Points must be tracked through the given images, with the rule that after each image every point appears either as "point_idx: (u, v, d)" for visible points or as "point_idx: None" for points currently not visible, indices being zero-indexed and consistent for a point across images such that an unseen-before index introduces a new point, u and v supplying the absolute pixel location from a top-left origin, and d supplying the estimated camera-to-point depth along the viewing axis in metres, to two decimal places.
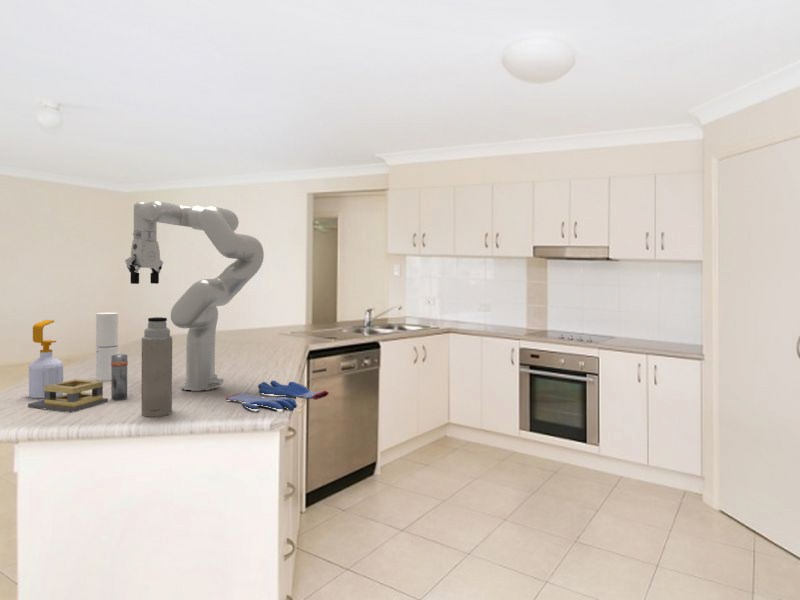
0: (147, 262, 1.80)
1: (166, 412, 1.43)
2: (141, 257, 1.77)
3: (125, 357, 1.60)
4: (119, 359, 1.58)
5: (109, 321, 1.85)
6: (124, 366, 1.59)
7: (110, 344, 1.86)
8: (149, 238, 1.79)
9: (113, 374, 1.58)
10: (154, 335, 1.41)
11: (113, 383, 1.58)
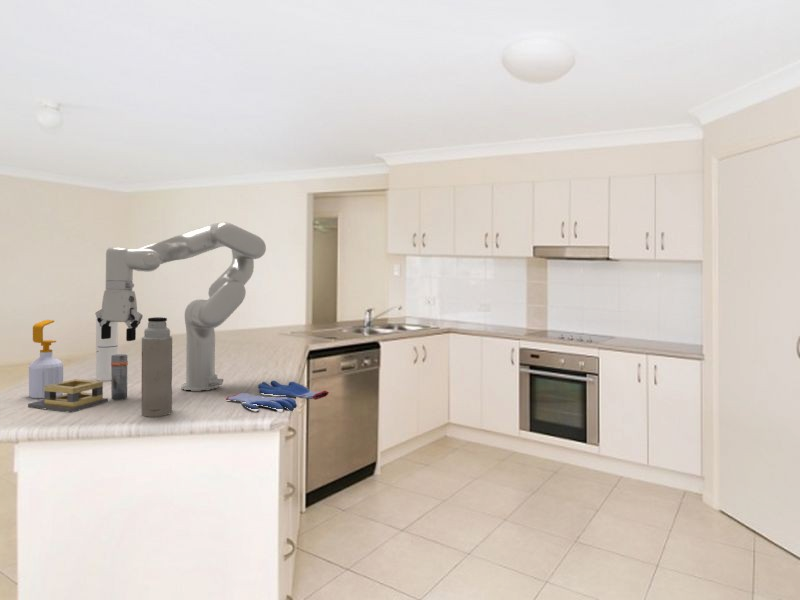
0: None
1: (166, 412, 1.43)
2: None
3: (125, 357, 1.60)
4: (119, 359, 1.58)
5: None
6: (124, 366, 1.59)
7: (110, 344, 1.86)
8: None
9: (113, 374, 1.58)
10: (154, 335, 1.41)
11: (113, 383, 1.58)
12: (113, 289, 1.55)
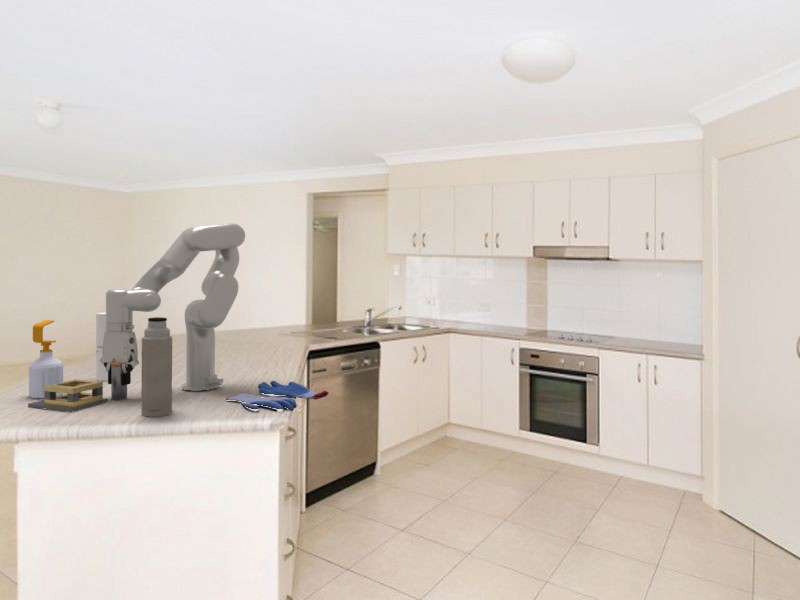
0: None
1: (166, 412, 1.43)
2: None
3: None
4: None
5: None
6: None
7: None
8: None
9: (113, 374, 1.58)
10: (154, 335, 1.41)
11: (113, 383, 1.58)
12: (113, 331, 1.56)
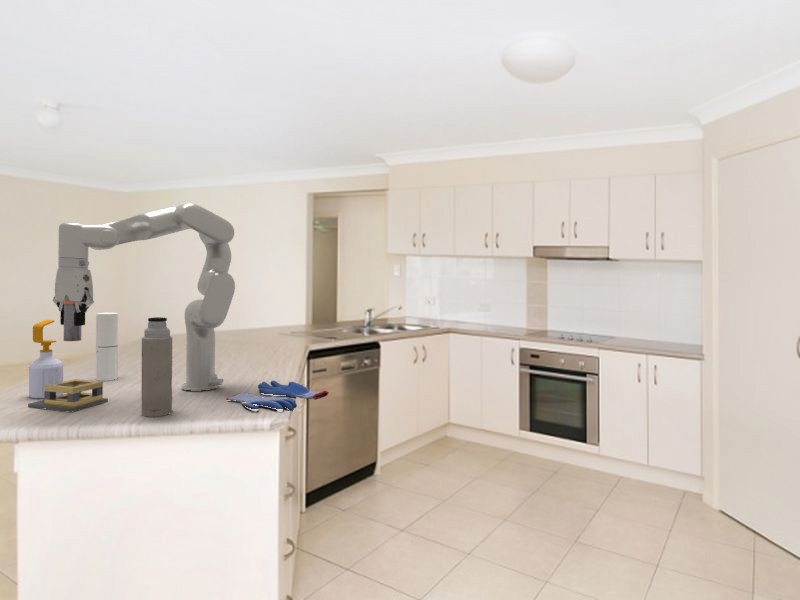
0: None
1: (166, 412, 1.43)
2: None
3: None
4: None
5: (109, 321, 1.85)
6: None
7: (110, 344, 1.86)
8: None
9: (66, 313, 1.48)
10: (154, 335, 1.41)
11: (65, 323, 1.48)
12: (66, 267, 1.46)
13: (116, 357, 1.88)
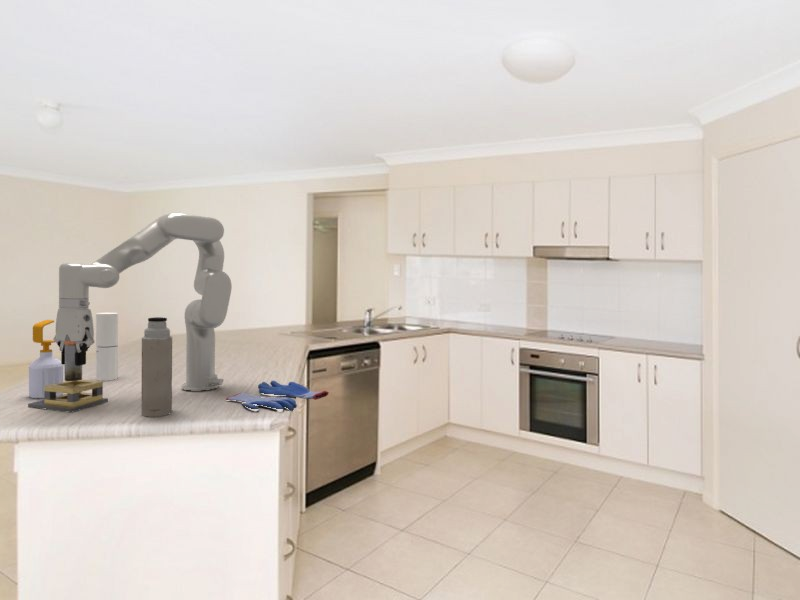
0: None
1: (166, 412, 1.43)
2: None
3: None
4: None
5: (109, 321, 1.85)
6: None
7: (110, 344, 1.86)
8: None
9: (67, 354, 1.48)
10: (154, 335, 1.41)
11: (66, 363, 1.49)
12: (66, 308, 1.46)
13: (116, 357, 1.88)
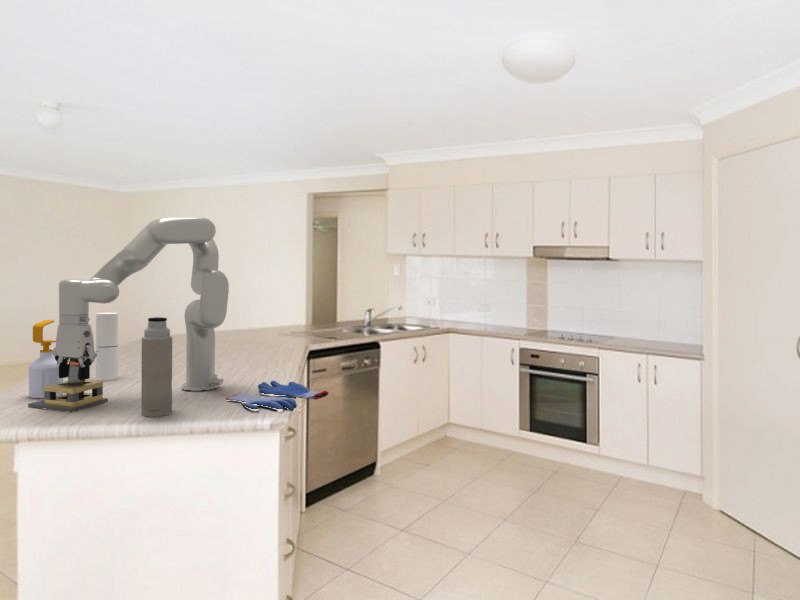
0: None
1: (166, 412, 1.43)
2: None
3: None
4: None
5: (109, 321, 1.85)
6: None
7: (110, 344, 1.86)
8: None
9: (70, 374, 1.50)
10: (154, 335, 1.41)
11: (69, 384, 1.49)
12: (66, 324, 1.47)
13: (116, 357, 1.88)
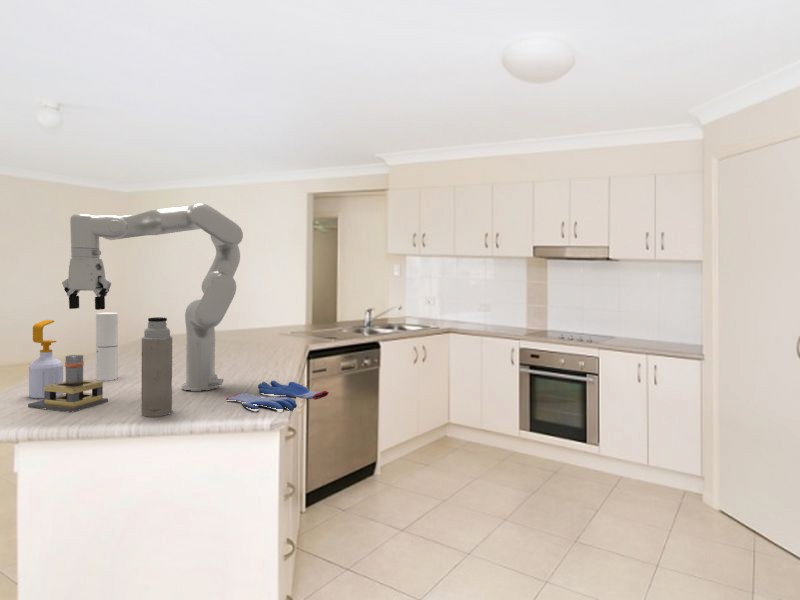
0: None
1: (166, 412, 1.43)
2: None
3: (80, 358, 1.50)
4: (73, 360, 1.49)
5: (109, 321, 1.85)
6: (79, 368, 1.50)
7: (110, 344, 1.86)
8: None
9: (68, 376, 1.49)
10: (154, 335, 1.41)
11: None
12: (79, 257, 1.52)
13: (116, 357, 1.88)
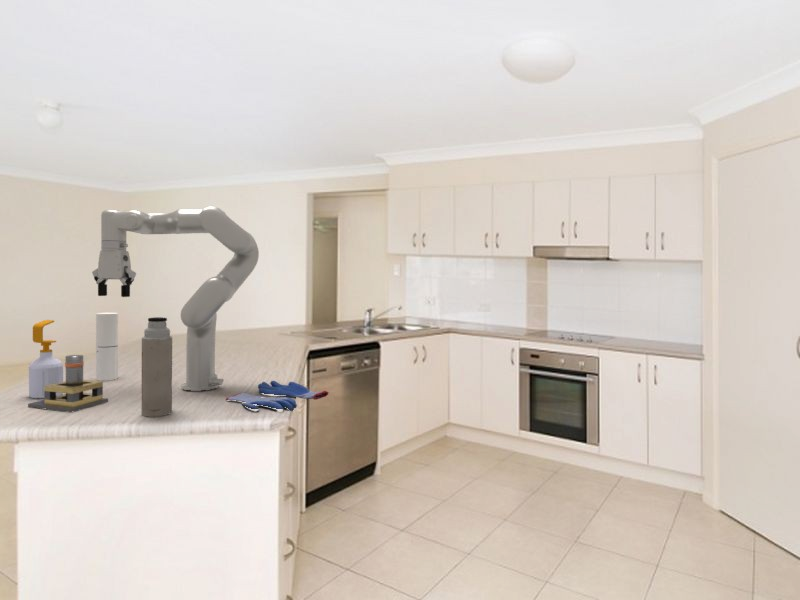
0: None
1: (166, 412, 1.43)
2: None
3: (80, 358, 1.50)
4: (73, 360, 1.49)
5: (109, 321, 1.85)
6: (79, 368, 1.50)
7: (110, 344, 1.86)
8: None
9: (68, 376, 1.49)
10: (154, 335, 1.41)
11: None
12: (108, 248, 1.67)
13: (116, 357, 1.88)
